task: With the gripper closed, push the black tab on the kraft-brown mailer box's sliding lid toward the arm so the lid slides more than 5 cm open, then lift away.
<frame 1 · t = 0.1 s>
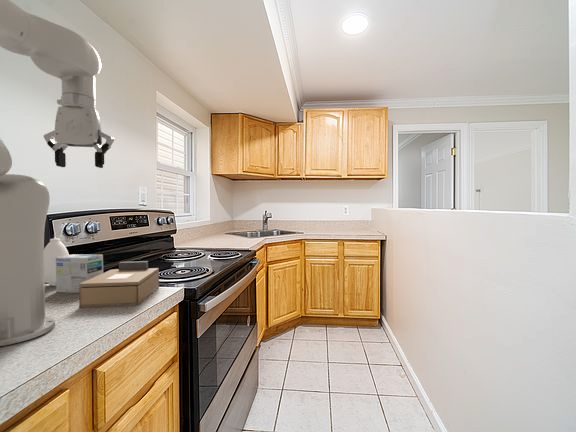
hand: (80, 166, 81), 37 cm above the counter, tool pointing down, fingers open, 9 cm apart
lid: (123, 272, 83), point 7 cm above the counter, slide at 0.0 cm
sauce bottle: (55, 286, 95), on the counter
light bulb box: (80, 290, 90), on the counter
mailer box: (123, 296, 83), on the counter
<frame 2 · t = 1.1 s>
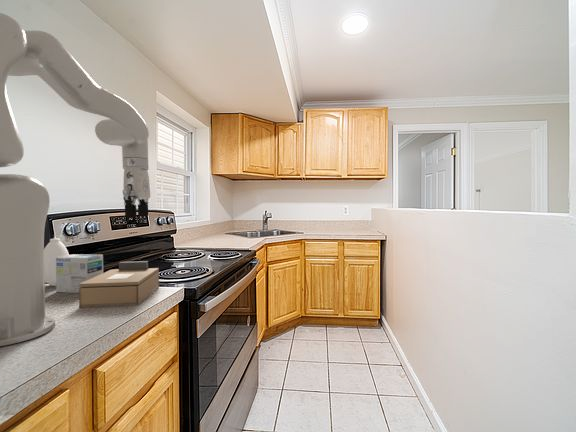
hand: (137, 216, 96), 22 cm above the counter, tool pointing down, fingers open, 9 cm apart
nothing on the counter moved.
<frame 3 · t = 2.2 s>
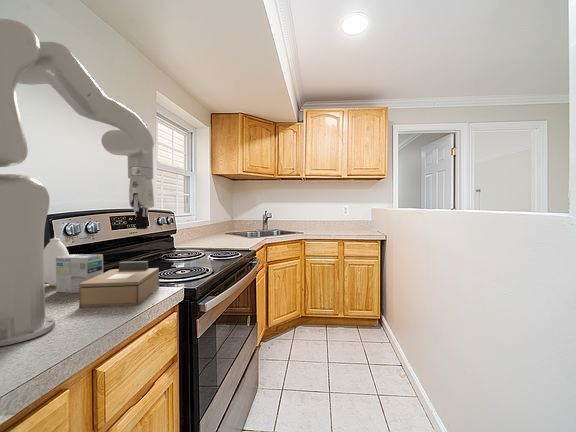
hand: (141, 228, 97), 18 cm above the counter, tool pointing down, fingers closed
nothing on the counter moved.
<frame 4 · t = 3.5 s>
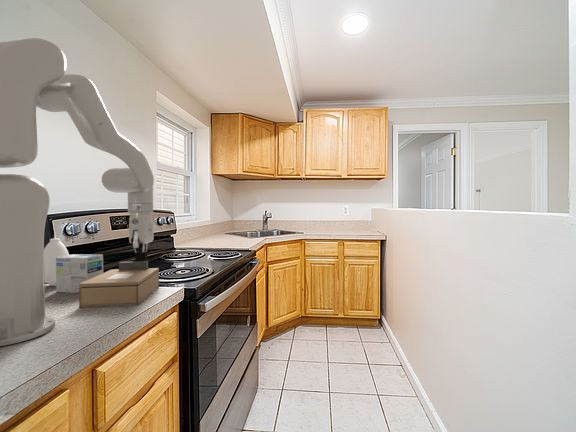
hand: (141, 263, 97), 7 cm above the counter, tool pointing down, fingers closed
nothing on the counter moved.
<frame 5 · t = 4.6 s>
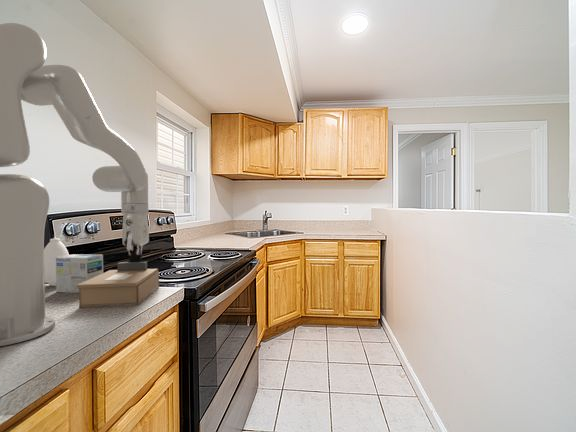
hand: (135, 267, 92), 7 cm above the counter, tool pointing down, fingers closed
lid: (122, 272, 82), point 7 cm above the counter, slide at 1.0 cm, touching gripper
everything else where it was.
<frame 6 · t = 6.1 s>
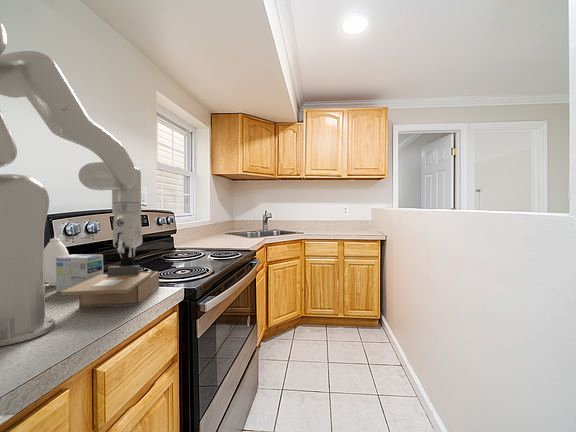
hand: (127, 270, 86), 7 cm above the counter, tool pointing down, fingers closed
lid: (112, 278, 76), point 7 cm above the counter, slide at 7.2 cm, touching gripper
everything else where it was.
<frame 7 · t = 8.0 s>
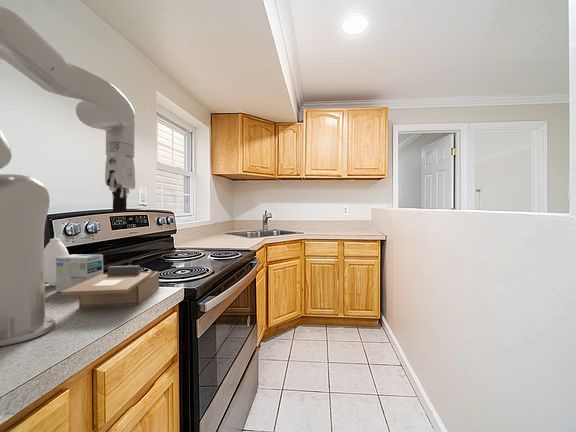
hand: (119, 211, 88), 24 cm above the counter, tool pointing down, fingers closed
lid: (112, 278, 76), point 7 cm above the counter, slide at 7.2 cm
everything else where it was.
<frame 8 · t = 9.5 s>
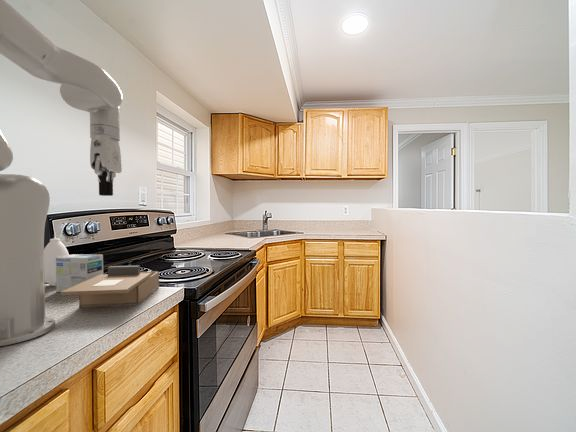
hand: (106, 195, 87), 29 cm above the counter, tool pointing down, fingers closed
nothing on the counter moved.
at the end: lid slide at 7.2 cm; light bulb box moved 0.3 cm from its start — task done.
